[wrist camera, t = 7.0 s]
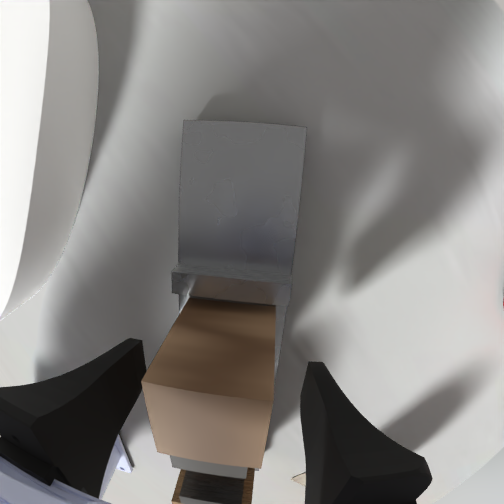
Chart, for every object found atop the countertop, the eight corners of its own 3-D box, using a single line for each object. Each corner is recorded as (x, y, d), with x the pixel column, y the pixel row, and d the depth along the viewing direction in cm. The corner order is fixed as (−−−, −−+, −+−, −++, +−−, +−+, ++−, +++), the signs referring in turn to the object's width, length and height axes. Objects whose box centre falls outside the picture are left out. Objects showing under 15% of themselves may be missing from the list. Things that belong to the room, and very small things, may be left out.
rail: (195, 447, 20) (173, 526, 13) (193, 123, 13) (111, 96, 6) (259, 455, 20) (252, 538, 12) (303, 130, 13) (334, 101, 6)
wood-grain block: (192, 378, 16) (160, 464, 10) (189, 297, 14) (141, 381, 8) (265, 387, 15) (258, 479, 10) (275, 306, 14) (273, 400, 8)
